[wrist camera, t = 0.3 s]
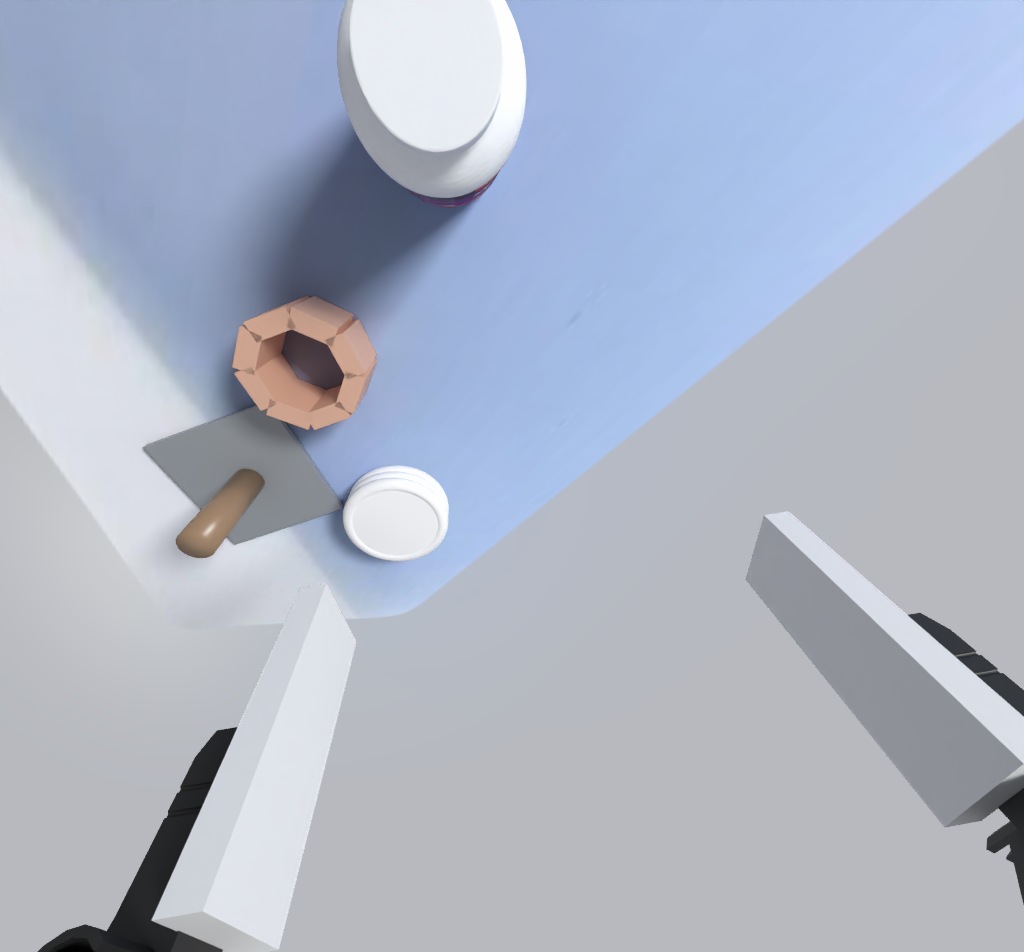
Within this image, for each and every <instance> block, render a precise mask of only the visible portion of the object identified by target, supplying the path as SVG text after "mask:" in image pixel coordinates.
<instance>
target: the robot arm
mask: <svg viewBox="0 0 1024 952" xmlns="http://www.w3.org/2000/svg"><path fill="white" fill-rule="evenodd" d="M746 580H747V582H748V583H749V584H750V586H751V587H752V588H753V589H754V590H755V592H756V593H757V594H758V595H759V597H760V598H761V599H762V600H763V602H764V603H765V604H766V605H767V607H768V608H769V609H770V610H771V612H772V613H773V614H774V615H775V616H776V618H777V619H778V620H779V622H780V623H781V624H782V625H783V626H784V628H785V629H786V630H787V632H788V633H789V634H790V635H791V637H792V638H793V639H794V640H795V641H796V643H797V644H798V645H799V646H800V648H801V649H802V650H803V652H804V653H805V654H806V655H807V656H808V658H809V659H810V660H811V661H812V663H813V664H814V665H815V666H816V668H817V669H818V670H819V671H820V673H821V674H822V675H823V676H824V678H825V679H826V680H827V681H828V683H829V684H830V685H831V686H832V688H833V689H834V690H835V691H836V693H837V694H838V695H839V696H840V698H841V699H842V700H843V701H844V703H845V704H846V705H847V706H848V708H849V709H850V710H851V711H852V712H853V714H854V715H855V716H856V718H857V719H858V720H859V721H860V722H861V724H862V725H863V726H864V727H865V729H866V730H867V731H868V732H869V734H870V735H871V736H872V737H873V739H874V740H875V741H876V742H877V744H878V745H879V746H880V747H881V749H882V750H883V751H884V752H885V753H886V755H887V756H888V757H889V759H890V760H891V761H892V762H893V764H894V765H895V766H896V767H897V768H898V770H899V771H900V772H901V773H902V775H903V776H904V777H905V779H906V780H907V781H908V782H909V783H910V785H911V786H912V787H913V789H914V790H915V791H916V792H917V793H918V795H919V796H920V797H921V798H922V799H923V801H924V802H925V803H926V805H927V806H928V807H929V808H930V810H931V811H932V812H933V813H934V815H935V816H936V817H937V818H938V820H939V821H940V822H941V823H942V825H943V826H944V827H949V826H955V825H960V824H966V823H971V822H977V821H982V820H983V819H984V818H986V817H987V816H988V815H990V814H991V813H992V812H994V811H995V810H996V809H998V808H999V809H1000V810H1001V811H1002V812H1003V813H1004V815H1005V816H1006V817H1008V819H1009V820H1010V822H1009V823H1007V824H1006V825H1004V826H1003V827H1001V828H1000V829H998V830H997V831H995V832H994V833H993V834H992V835H991V836H989V837H988V838H987V850H989V851H991V852H993V853H996V852H998V851H999V850H1001V849H1002V848H1004V847H1005V846H1007V845H1009V844H1010V848H1011V851H1010V852H1009V854H1008V855H1007V857H1006V858H1007V860H1009V861H1011V862H1013V863H1014V865H1015V870H1016V874H1017V878H1018V882H1019V887H1020V891H1021V895H1022V899H1023V903H1024V690H1023V689H1021V688H1020V687H1019V686H1018V685H1016V684H1015V683H1014V682H1013V681H1012V680H1011V679H1009V678H1008V677H1007V676H1006V675H1005V674H1003V673H999V672H998V671H997V668H996V667H995V666H994V665H992V664H991V663H990V662H989V661H988V660H986V659H985V658H984V657H983V656H982V655H977V654H976V651H975V650H974V649H973V648H972V647H971V646H969V645H968V644H967V643H966V642H965V641H963V640H962V639H961V638H960V637H959V636H957V635H956V634H955V633H954V632H952V631H951V630H950V629H948V628H946V627H945V626H943V625H941V624H939V623H937V622H935V621H934V620H932V619H930V618H928V617H927V616H925V615H923V614H921V613H917V614H910V615H906V613H904V612H903V611H902V610H901V609H900V608H899V607H897V606H896V605H895V604H894V603H893V602H892V601H891V600H890V599H888V598H887V597H886V596H885V595H884V594H883V593H882V592H880V591H879V590H878V589H877V588H876V587H875V586H874V585H872V584H871V583H870V582H869V581H868V580H867V579H865V578H864V577H863V576H862V575H861V574H860V573H859V572H857V571H856V570H855V569H854V568H853V567H852V566H851V565H849V564H848V563H847V562H846V561H845V560H844V559H843V558H841V557H840V556H839V555H838V554H837V553H836V552H835V551H833V550H832V549H831V548H830V547H829V546H828V545H827V544H825V543H824V542H823V541H822V540H821V539H820V538H819V537H817V536H816V535H815V534H814V533H813V532H812V531H811V530H809V529H808V528H807V527H806V526H805V525H804V524H802V523H801V522H800V521H799V520H798V519H797V518H796V517H794V516H793V515H792V514H791V513H790V512H789V511H788V512H782V513H775V514H768V515H764V517H763V521H762V524H761V528H760V531H759V535H758V538H757V542H756V545H755V549H754V552H753V555H752V559H751V562H750V566H749V570H748V573H747V576H746ZM355 646H356V640H355V638H354V636H353V634H352V632H351V630H350V628H349V626H348V625H347V623H346V621H345V619H344V617H343V615H342V613H341V611H340V609H339V607H338V605H337V603H336V601H335V599H334V597H333V595H332V593H331V591H330V589H329V587H328V585H327V583H326V584H319V585H313V586H307V587H300V589H299V591H298V593H297V596H296V598H295V600H294V602H293V605H292V607H291V609H290V611H289V614H288V616H287V618H286V620H285V622H284V625H283V627H282V629H281V631H280V634H279V636H278V638H277V640H276V643H275V645H274V647H273V649H272V652H271V654H270V656H269V658H268V661H267V663H266V665H265V667H264V670H263V672H262V674H261V676H260V678H259V681H258V683H257V685H256V687H255V690H254V692H253V694H252V696H251V699H250V701H249V703H248V705H247V708H246V710H245V712H244V714H243V717H242V719H241V721H240V723H239V725H238V727H236V728H230V729H224V730H218V731H216V732H215V734H214V735H213V736H212V737H211V738H210V740H209V741H208V742H207V743H206V745H205V746H204V747H203V748H202V749H201V751H200V752H199V753H198V755H197V756H196V757H195V759H194V761H193V763H192V765H191V767H190V769H189V771H188V773H187V775H186V777H185V779H184V781H183V783H182V785H181V790H180V792H179V793H177V794H176V797H175V799H174V801H173V802H172V804H171V806H170V809H169V810H168V816H167V818H165V819H164V820H163V822H162V824H161V826H160V829H159V830H158V832H157V835H156V836H155V838H154V840H153V842H152V844H151V846H150V848H149V851H148V852H147V854H146V856H145V858H144V860H143V862H142V864H141V866H140V868H139V870H138V872H137V874H136V876H135V878H134V880H133V882H132V885H131V886H130V888H129V890H128V892H127V894H126V896H125V898H124V900H123V902H122V904H121V906H120V908H119V910H118V912H117V914H116V916H115V918H114V920H113V921H112V923H111V925H110V927H109V929H108V930H107V931H104V930H101V929H99V928H95V927H92V926H88V925H82V926H79V927H76V928H73V929H69V930H67V931H65V932H63V933H62V934H60V935H59V936H58V937H56V938H55V939H53V940H52V941H50V942H49V943H47V944H46V945H44V946H43V947H42V948H41V949H40V950H39V951H38V952H222V951H224V952H269V951H275V950H279V946H280V942H281V938H282V934H283V930H284V926H285V922H286V918H287V914H288V911H289V907H290V903H291V899H292V895H293V891H294V887H295V883H296V879H297V875H298V871H299V867H300V863H301V859H302V855H303V851H304V847H305V843H306V839H307V835H308V831H309V828H310V824H311V819H312V816H313V812H314V808H315V804H316V800H317V796H318V792H319V788H320V784H321V780H322V776H323V772H324V768H325V764H326V760H327V756H328V752H329V749H330V744H331V741H332V737H333V733H334V729H335V725H336V720H337V716H338V713H339V708H340V705H341V701H342V697H343V693H344V689H345V685H346V681H347V677H348V673H349V669H350V665H351V661H352V658H353V653H354V650H355Z"/></svg>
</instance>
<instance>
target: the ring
mask: <svg viewBox="0 0 1024 952" xmlns="http://www.w3.org/2000/svg"><path fill="white" fill-rule="evenodd" d="M353 317H354V314H353V313H350V312H348V311H346V310H344V309H342V308H340V307H337V306H335V305H333V304H331V303H329V302H327V301H325V300H322V299H320V298H318V297H316V296H313V297H311V298H310V297H309V296H305V297H303V298H300V299H297V300H295V301H292V302H289V303H287V304H284V305H282V306H279V307H276V308H274V309H271V310H269V311H267V312H265V313H262V314H260V315H258V316H256V317H253V318H251V319H249V320H247V321H244V322H243V323H244V325H242V326H240V327H239V331H238V337H237V343H236V348H235V354H234V360H233V365H232V367H233V368H236V369H238V371H237V372H235V373H234V374H235V376H236V377H237V378H238V380H239V381H240V383H241V384H242V385H243V387H244V388H245V390H246V391H247V392H248V394H249V395H250V396H251V398H252V399H253V401H254V402H255V403H256V405H257V406H258V408H259V409H260V410H261V411H262V410H264V409H267V408H268V410H267V414H266V415H268V416H271V417H274V418H277V419H279V420H282V421H285V422H288V423H291V424H293V425H296V426H299V427H302V428H305V429H307V430H309V428H310V427H311V426H312V427H313V429H314V430H316V429H319V428H322V427H325V426H328V425H330V424H333V423H336V422H339V421H342V420H345V419H347V418H350V417H351V415H352V413H353V414H354V412H355V411H356V409H357V407H358V405H359V404H360V402H361V400H362V398H363V397H364V395H365V393H366V391H367V389H368V386H369V383H370V380H371V377H372V374H373V371H374V368H375V365H376V363H377V360H376V359H375V357H376V355H377V354H376V352H375V350H374V348H373V346H372V344H371V342H370V340H369V338H368V336H367V334H366V332H365V330H364V328H363V326H362V324H361V322H360V320H359V319H356V320H354V321H352V320H353ZM291 329H292V330H294V331H297V332H299V333H301V334H304V335H306V336H308V337H311V338H313V339H315V340H318V341H320V342H322V343H325V344H327V345H328V347H329V348H330V350H331V352H332V354H333V355H334V357H335V359H336V361H337V363H338V364H339V366H340V368H341V370H342V371H343V373H344V375H345V376H344V379H343V382H342V385H339V386H336V387H334V388H331V389H328V390H326V389H323V388H321V387H318V386H316V385H313V384H311V383H308V382H306V381H303V380H301V379H298V378H297V376H296V374H295V373H294V371H293V370H292V368H291V366H290V365H289V363H288V362H287V360H286V359H285V357H284V355H283V354H282V348H283V344H284V340H285V335H286V331H289V330H291Z"/></svg>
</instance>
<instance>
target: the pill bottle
mask: <svg viewBox="0 0 1024 952" xmlns="http://www.w3.org/2000/svg"><path fill="white" fill-rule="evenodd" d="M337 65H338V76H339V82H340V88H341V93H342V97H343V101H344V104H345V108H346V111H347V113H348V116H349V119H350V121H351V123H352V126H353V128H354V130H355V132H356V134H357V136H358V138H359V139H360V141H361V143H362V144H363V146H364V148H365V149H366V151H367V152H368V153H369V155H370V156H371V157H372V159H373V160H374V161H375V162H376V163H377V164H378V166H379V167H380V168H381V169H382V170H383V171H384V172H385V173H386V174H388V175H389V176H390V177H391V178H392V179H393V180H395V181H396V182H398V183H399V184H400V185H402V186H403V187H405V188H406V189H407V190H409V191H410V192H411V193H412V194H414V195H415V196H417V197H418V198H420V199H421V200H423V201H425V202H428V203H430V204H433V205H437V206H443V207H456V206H461V205H465V204H467V203H469V202H471V201H473V200H475V199H477V198H478V197H479V196H481V195H482V194H483V193H484V192H485V191H486V190H487V189H488V188H489V186H490V185H491V184H492V182H493V181H494V180H495V178H496V176H497V174H498V173H499V171H500V169H501V168H502V167H503V165H504V164H505V162H506V161H507V159H508V157H509V155H510V154H511V152H512V150H513V148H514V145H515V143H516V141H517V138H518V135H519V132H520V129H521V125H522V121H523V116H524V111H525V103H526V68H525V59H524V54H523V49H522V44H521V40H520V36H519V33H518V30H517V27H516V24H515V21H514V19H513V17H512V14H511V12H510V10H509V8H508V6H507V4H506V2H505V0H346V2H345V5H344V8H343V11H342V16H341V20H340V25H339V31H338V42H337Z"/></svg>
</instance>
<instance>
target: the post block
mask: <svg viewBox="0 0 1024 952" xmlns="http://www.w3.org/2000/svg"><path fill="white" fill-rule="evenodd" d="M267 410H268V408H267V409H264V410H262V411H261V410H260V409H259V408H258V406H257V405H255V406H252V407H249V408H247V409H244V410H241V411H238V412H236V413H233V414H230V415H227V416H224V417H222V418H219V419H216V420H213V421H211V422H208V423H205V424H202V425H200V426H197V427H194V428H191V429H188V430H186V431H183V432H180V433H177V434H175V435H172V436H169V437H166V438H164V439H161V440H158V441H155V442H153V443H150V444H147V445H146V446H144V447H143V449H144V450H145V451H146V452H147V453H148V454H149V455H150V456H151V457H152V458H153V459H154V460H155V461H156V462H157V463H158V465H159V466H160V467H161V468H162V469H163V470H164V471H165V472H166V473H167V474H168V475H169V476H170V477H171V478H172V479H173V480H174V481H175V482H176V483H177V484H178V486H179V487H180V488H181V489H182V490H183V491H184V492H185V493H186V494H187V495H188V496H189V497H190V498H191V499H192V500H193V501H194V502H195V503H196V504H197V505H198V507H199V508H200V509H201V511H200V512H199V513H198V514H197V516H196V517H195V518H194V519H193V520H192V521H191V522H190V523H189V524H188V525H187V526H186V528H185V529H184V530H183V531H182V532H181V533H180V534H179V535H178V536H177V538H176V544H177V546H178V548H179V549H180V550H181V551H182V552H183V553H185V554H187V555H189V556H192V557H196V558H206V557H210V556H211V555H213V554H214V553H215V551H216V550H217V549H218V547H219V546H220V545H221V543H222V542H223V541H224V539H225V538H226V537H228V538H229V539H230V540H231V541H232V542H233V543H234V544H238V543H241V542H244V541H247V540H250V539H253V538H256V537H259V536H262V535H265V534H268V533H271V532H274V531H277V530H280V529H283V528H286V527H289V526H292V525H295V524H298V523H301V522H304V521H307V520H310V519H313V518H316V517H319V516H322V515H325V514H328V513H331V512H334V511H337V510H340V509H342V508H343V504H342V502H341V501H340V500H339V498H338V497H337V495H336V494H335V492H334V491H333V490H332V488H331V487H330V485H329V484H328V482H327V481H326V480H325V478H324V477H323V475H322V474H321V472H320V471H319V469H318V468H317V467H316V465H315V464H314V462H313V461H312V459H311V458H310V457H309V455H308V454H307V452H306V451H305V449H304V448H303V447H302V445H301V444H300V442H299V441H298V439H297V438H296V436H295V435H294V434H293V432H292V431H291V429H290V428H289V426H288V425H287V424H286V422H285V421H282V420H279V419H277V418H274V417H271V416H268V415H266V414H267Z"/></svg>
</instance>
